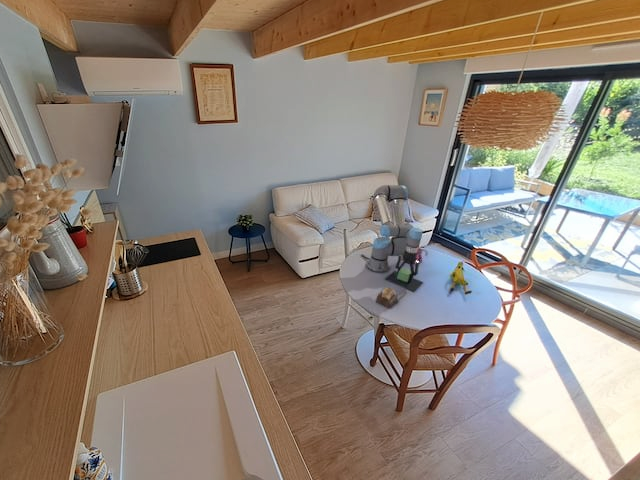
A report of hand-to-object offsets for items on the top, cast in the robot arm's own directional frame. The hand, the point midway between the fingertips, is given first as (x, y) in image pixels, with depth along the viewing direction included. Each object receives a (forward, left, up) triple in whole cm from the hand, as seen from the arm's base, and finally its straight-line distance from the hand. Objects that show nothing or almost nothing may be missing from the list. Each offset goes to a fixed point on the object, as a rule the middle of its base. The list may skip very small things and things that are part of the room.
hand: (403, 279), depth 196 cm
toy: (-10, +32, -1) cm, 33 cm away
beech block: (+2, -29, +3) cm, 29 cm away
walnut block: (+2, -29, -1) cm, 29 cm away
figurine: (+28, +24, -1) cm, 37 cm away
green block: (0, 0, +1) cm, 1 cm away
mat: (0, 0, -1) cm, 1 cm away
